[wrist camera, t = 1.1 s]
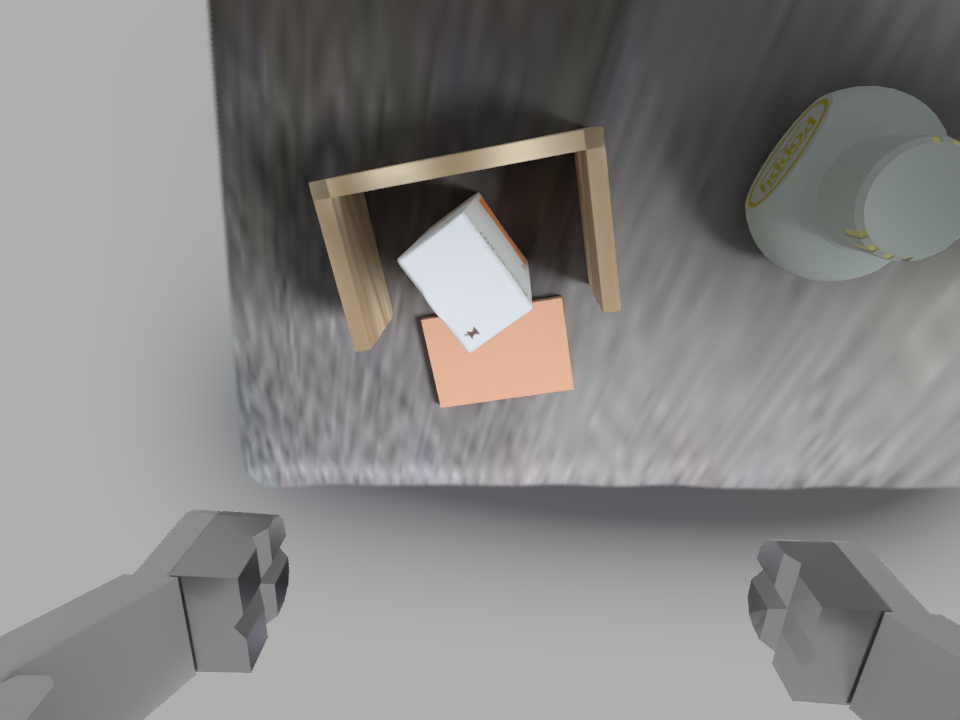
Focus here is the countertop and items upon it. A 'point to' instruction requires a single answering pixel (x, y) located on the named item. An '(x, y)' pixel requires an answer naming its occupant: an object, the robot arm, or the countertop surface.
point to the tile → (503, 358)
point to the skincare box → (470, 273)
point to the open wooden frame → (345, 193)
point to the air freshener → (857, 187)
